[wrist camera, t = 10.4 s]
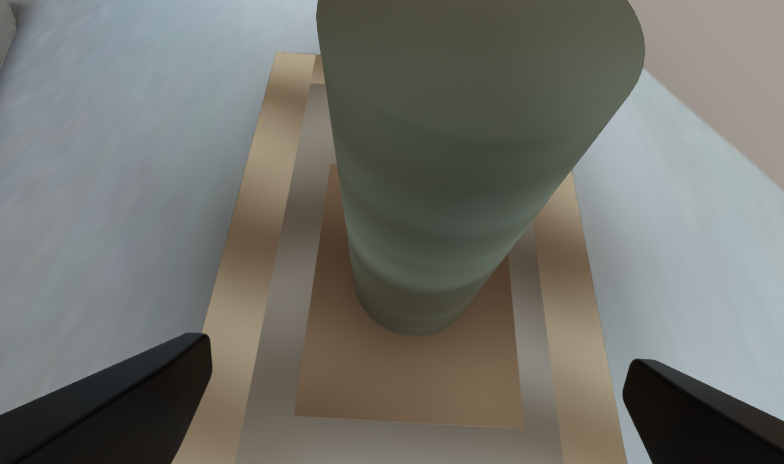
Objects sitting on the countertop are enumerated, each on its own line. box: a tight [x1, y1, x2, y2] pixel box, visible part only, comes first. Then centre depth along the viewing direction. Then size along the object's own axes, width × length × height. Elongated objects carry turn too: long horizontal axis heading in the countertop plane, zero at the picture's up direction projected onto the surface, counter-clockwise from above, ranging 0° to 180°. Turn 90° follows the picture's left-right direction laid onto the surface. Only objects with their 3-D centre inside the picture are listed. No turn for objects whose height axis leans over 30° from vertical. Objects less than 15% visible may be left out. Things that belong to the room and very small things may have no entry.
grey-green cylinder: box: [294, 0, 645, 428], centre depth 9 cm, size 8×6×11 cm
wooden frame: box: [171, 52, 627, 464], centre depth 15 cm, size 22×14×1 cm, turn 177°
